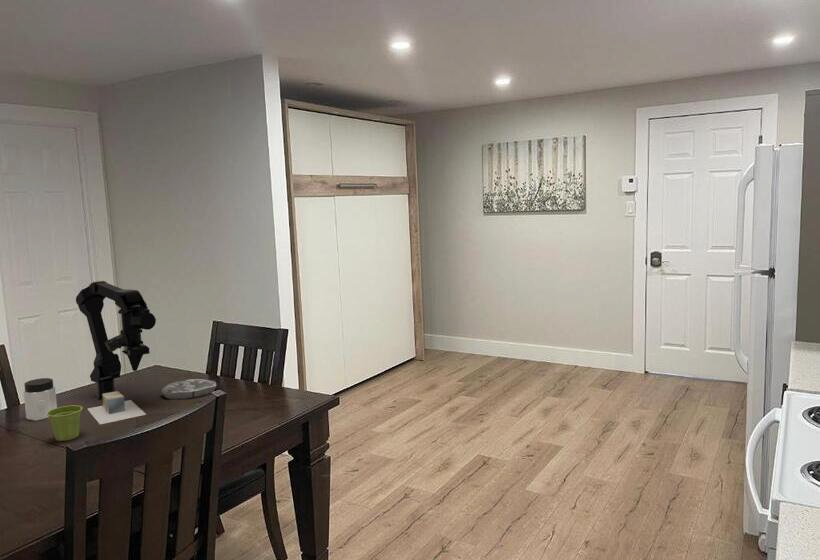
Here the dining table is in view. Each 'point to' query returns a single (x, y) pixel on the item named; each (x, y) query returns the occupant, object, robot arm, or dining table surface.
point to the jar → (39, 398)
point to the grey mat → (104, 417)
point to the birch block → (113, 402)
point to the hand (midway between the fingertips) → (134, 370)
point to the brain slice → (188, 389)
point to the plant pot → (65, 422)
